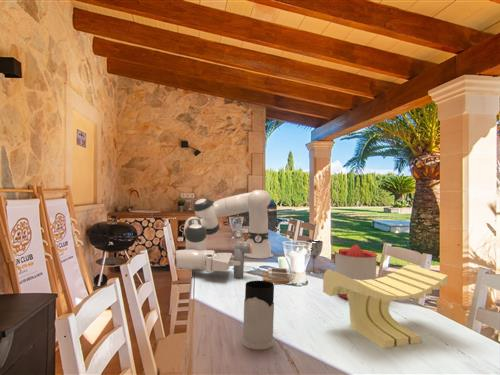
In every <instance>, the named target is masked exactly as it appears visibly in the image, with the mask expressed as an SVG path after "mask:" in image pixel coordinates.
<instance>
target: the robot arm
mask: <svg viewBox="0 0 500 375" xmlns="http://www.w3.org/2000/svg"><path fill="white" fill-rule="evenodd" d="M271 199H272V198H271V194H270V193H269V192H268V191H267V190H265V189H255V190H252V191H251V192H245V193H239V194H236V195H232V196H227V197H223V198H220V199H217V200H216V201H213V200H211V199H208V198H205V197H204V198H200V199H198V200H196V201H195V202H194V203H193V212H194V214H195V216H190V217H189V218H187V219H186V220H185V222H184V226H183V234H184V237H185V248H184V249H178V250H176V251H175V252H174V265H175V267H176V268H177V269H182V270H193V271H194V270H201V271H205V272H207V273H212V272H224V271H225V272H226V271H229V269H230V267H234V266H236V265H239V266H240V264H241V261H234V256H233V253H232V252H217V253H216V251H215V250H214V249H211V250H209V249H207V236H209V235H210V236H212V235H214V234H216V233H218V231H219V229H220V223H219V220H218V217H220V218H221V217H229V216H233V215H238V214H243V213H247V212H248V216H249V222H248V224H249V225H248V226H249V227H248V232H247V239H246V240H245V242H244V243H245V244H252V254H245V253H244V257H246V258H251V259H269V258H274V254H273V253H272V252H271V251H272V250H271V246H272V244H271V241H270V240H269V216H268V207H269V205H270V203H271V202H272V200H271Z"/></svg>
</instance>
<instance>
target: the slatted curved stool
mask: <svg viewBox="0 0 500 375" xmlns="http://www.w3.org/2000/svg"><path fill="white" fill-rule="evenodd" d="M448 278H449V276H448V275H447V274H444V273H441V272H439V271H438V272H437V271H433V270H431V269H427V268H423V267H420V266H417V265H413V264H408V265H402V267H401V268H400V269H396V270H394V271H393V272H390V273H388V274H386V275H385V276H382V277H378V278H377V277H376V279H374V280H372V279H370V280H361V281H360V280H355V279H351V278H349V277H347V276H344V275H342V274H340V273H338V272H335V270H333V269H330V268H329V269H326V270H325V271H324V274H323V281H322V282H323V285H322V292H323V293H324V294H326V295H328V296H330V297H334V296H337V295H339V294H346V293H347V298H348V299H347V301H348V306H349V322H350V327H351V328H352V329H353V330H355V331H356V332H357V333H359V334H361V335H362V336H363V337H365V338H367V339H368V340H370V341H371V342H373V343H374V344H375V345H377V346H379V347H380V348H381V349H387V348H393V347H401V346H405V345H407V346H408V345H409V344H411V345H414V344H420V343H422V340H421V337H420V335H418V334H417V333H415V332H413V331H412V330H409V329H408V328H407V327H405V326H403V325H401V324H400V323H399V322H397V320H395V319H394V318H393V317H392V315H391V314H390V310H389V307H390V303H391V301H396V300H398V301H403V300H410V299H424V297H425V296H424V295H430V294H433V293H432V292H433V291H435V290H436V291H437V290H440V288H441V287H440V286H442V287H446V286H448ZM338 293H339V294H338Z"/></svg>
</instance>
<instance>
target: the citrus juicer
mask: <svg viewBox="0 0 500 375" xmlns="http://www.w3.org/2000/svg"><path fill="white" fill-rule="evenodd" d="M377 256H378V254H377V253H375V252H374V251H370V250H362V249H361V248H360V246H359V245H358V244H354V245H352V246H351V247H350V248H339V249H338V251H334V257H333V258H332V259H331V260H330V262H329V264H333V265H334V271H335V272H338V273H340V274H342V275H344V276H347V277H349V278H351V279H355V280H360V281H361V280H370V279H372V280H374V279H376V278H377V276H376V275H377ZM337 295H338V296H340V298H343V299H346V300H348V298H347V293H346V294H339V293H337Z"/></svg>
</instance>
